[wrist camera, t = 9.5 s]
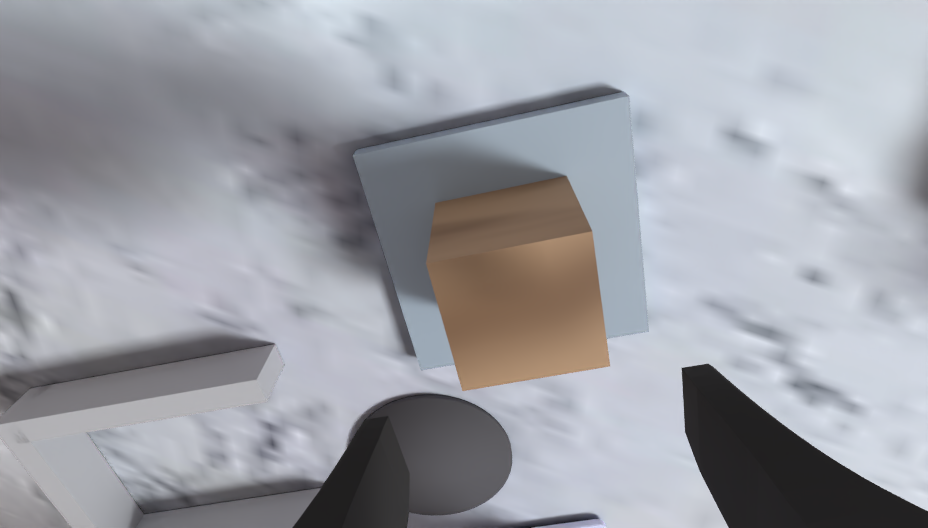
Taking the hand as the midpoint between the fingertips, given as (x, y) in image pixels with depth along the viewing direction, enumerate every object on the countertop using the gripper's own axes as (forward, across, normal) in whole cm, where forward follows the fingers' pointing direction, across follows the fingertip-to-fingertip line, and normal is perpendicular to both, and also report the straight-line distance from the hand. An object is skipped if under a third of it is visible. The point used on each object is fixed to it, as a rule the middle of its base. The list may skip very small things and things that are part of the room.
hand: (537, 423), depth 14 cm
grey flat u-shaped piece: (+10, +17, +8) cm, 21 cm away
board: (+10, 0, 0) cm, 10 cm away
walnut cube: (+10, 0, 0) cm, 10 cm away
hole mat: (+10, +6, +11) cm, 16 cm away
